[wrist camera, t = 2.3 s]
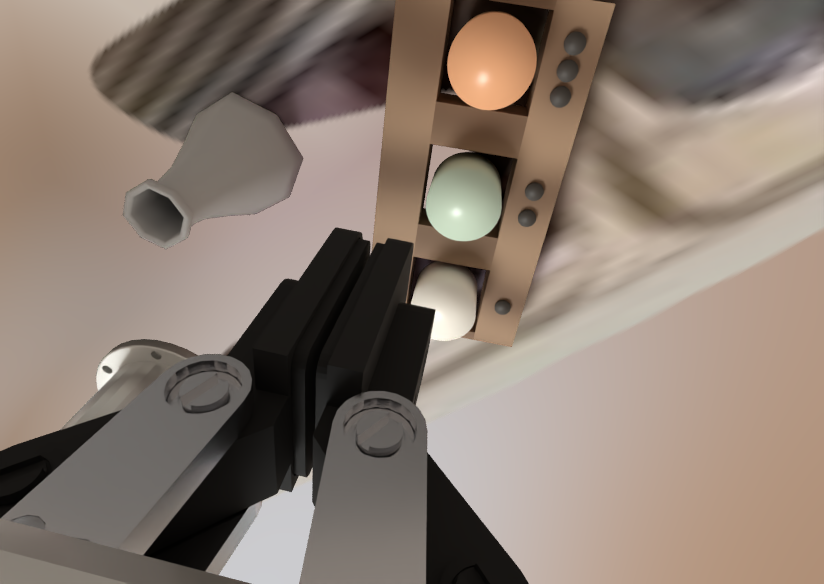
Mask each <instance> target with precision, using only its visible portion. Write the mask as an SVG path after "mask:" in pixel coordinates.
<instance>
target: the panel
mask: <svg viewBox="0 0 824 584" xmlns="http://www.w3.org/2000/svg"><path fill="white" fill-rule="evenodd" d="M491 1H498V2H504V3H511V4H517V5H524V6H530V7H537V8H543V9H549V12H548V16H547V20H546V25H545V29H544V33H543V37H542V41H541V45H540V49H539V54H538V58H537V63H536V70H535V74H534V77H533V79H532V83H531V87H530V91H529V95H528V99H527V103H526V107H524V106H518V105H512V104H511V105H509V106H506V107H504V108H501V109H497V110H481V109H477V108H475V107H472V106H470V105H468V104H467V103H465V102H464V101H463V100H462V99H461V98H460V97H459V96H457V95H451V94H445V93H441V86H442V80H443V73H444V66H445V60H446V53H447V46H448V40H449V33H450V26H451V20H452V13H453V6H454V0H396V2H395V13H394V23H393V34H392V44H391V55H390V66H389V76H388V87H387V97H386V108H385V119H384V129H383V139H382V140H383V141H382V150H381V161H380V171H379V182H378V192H377V203H376V214H375V225H374V234H373V245H372V251H373V249H374V247H375V245H376V243H382V244H385V242H386V240H387V239H388V238H392V239H397V240H402V241H407V242H412V243H414V248H413V256H412V263H411V270H410V277H409V284H408V291H407V298H406V303H407V304H411V301H412V300H411V299H410V293H411V286H412V280H413V273H414V266H415V260H416V257H419V258H424V259H430V260H435V261H441V262H446V263H452V264H457V265H463V266H468V267H474V268H479V269H484V270H486V273H485V278H484V282H483V286H482V290H481V294H480V298H479V302H478V307H477V311H476V317H475V322H474V324H473V326H472V328H471V329H470V330H469V332H468V333H466V334H465V335H464V336H462V338H468V339H473V340H478V341H483V342H489V343H494V344H499V345H504V346H510V347H512V344H513V341H514V338H515V334H516V331H517V328H518V325H519V321H520V318H521V315H522V311H523V308H524V305H525V301H526V298H527V295H528V291H529V288H530V285H531V282H532V278H533V275H534V272H535V268H536V265H537V262H538V258H539V255H540V252H541V248H542V245H543V242H544V239H545V235H546V232H547V229H548V225H549V222H550V219H551V215H552V212H553V209H554V206H555V202H556V199H557V196H558V192H559V189H560V186H561V182H562V179H563V176H564V172H565V169H566V166H567V163H568V159H569V156H570V153H571V149H572V146H573V143H574V139H575V136H576V133H577V129H578V126H579V123H580V120H581V116H582V113H583V110H584V106H585V103H586V100H587V96H588V93H589V90H590V86H591V83H592V80H593V77H594V73H595V70H596V67H597V63H598V60H599V57H600V53H601V50H602V47H603V43H604V40H605V37H606V34H607V30H608V27H609V24H610V20H611V17H612V14H613V10H614V7H615V4H613V3H607V2H600V1H594V0H491ZM433 144H434V145H440V146H446V147H452V148H458V149H464V150H469V151H475V152H481V153H487V154H493V155H499V156H505V157H511V158H513V161H512V166H511V170H510V174H509V178H508V182H507V186H506V190H505V195H504V199H503V203H502V209H501V215H500V218H499V220H498V222H497V224H496V225H495V227H494V228H493V229H492V230H491V231H490V232H489V233H488V234H486V235H485V236H483V237H481V238H479V239H476V240H472V241H456V240H452V239H449V238H447V237H445V236H443V235H442V234H440V233H439V232H438V231H437V230H436V229H435V228H434V227H433V226H432V224H431V223H430V221H429V219H428V216H427V212H426V209H425V208H423V206H424V200H425V193H426V186H427V180H428V172H429V166H430V160H431V153H432V146H433Z"/></svg>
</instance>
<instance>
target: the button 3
mask: <svg viewBox="0 0 824 584" xmlns="http://www.w3.org/2000/svg"><path fill="white" fill-rule="evenodd" d="M536 63H537V55H536V48H535V44H534V41H533V39H532V37H531V35H530V33H529V32H528V30H527V29H526V27H525V26H524V25H523V23H522V22H521V21H520V20H519V19H517V18H516V17H515V16H513V15H511V14H509V13H506V12H503V11H488V12H484V13H481V14H479V15H477V16H475V17H473V18H472V19H471V20H469V21H468V22H467V23H466V24H465V25H464V26H463V28H462V29H461V30H460V31H459V33H458V34H457V36H456V37H455V39H454V41H453V43H452V45H451V48H450V51H449V55H448V62H447V67H448V76H449V79H450V83H451V85H452V87H453V89H454V91H455V92H456V94H457V95H458V96H459V97H460V98H461V99H462V100H463V101H464V102H465V103H467V104H468V105H470V106H472V107H475V108H477V109H481V110H497V109H501V108H504V107H506V106H509V105H511V104H512V103H514V102H515V101H517V100H518V99H519V98H520V97H521V96H522V95H523V94H524V93H525V91H526V90H527V89H528V87H529V85H530V84H531V82H532V79H533V77H534V74H535V70H536Z"/></svg>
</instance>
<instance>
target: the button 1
mask: <svg viewBox="0 0 824 584" xmlns="http://www.w3.org/2000/svg"><path fill="white" fill-rule="evenodd" d="M476 301H477V282H476V279H475V277H474V275H473V273H472V272H471V271H470V270H469V269H468V268H467V267H465V266H463V265H457V264H452V263H446V262H441V261H436V262H433V263H431V264H429V265H428V266H426V267H425V268H424V269H423V270H422V271H421V273H420V274H419V276H418V279H417V283H416V286H415V290H414V294H413V298H412V301H411V304H412V305H417V306H422V307H427V308H431V309H436V311H435V317H434V322H433V328H432V333H431V338H432V339H435V340H441V341H449V340H454V339H458V338H460V337H462V336H464V335H465V334H466V333H468V332H469V330H470V329H471V328H472V326H473V324H474V322H475V317H476Z"/></svg>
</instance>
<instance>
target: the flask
mask: <svg viewBox="0 0 824 584" xmlns="http://www.w3.org/2000/svg"><path fill="white" fill-rule="evenodd" d="M302 160H303V157H302V155H301V153H300V152H299V150H298V149H297V147H296V145H295V144H294V142H293V140H292V139H291V137H290V135H289V134H288V132H287V131H286V129H285V127H284V126H283V124H282V122H281V121H280V119H279V117H278V116H277V115H276V114H274V113H272V112H270V111H268V110H266V109H264V108H262V107H260V106H258V105H256V104H255V103H253V102H251V101H249V100H247V99H245V98H243V97H241V96H239V95H237V94H235V93H233V92H231V93H230V94H228V95H227V96H225V97H223V98H222V99H220V100H219V101H217V102H215V103H214V104H212V105H211V106H209V107H208V108H206V109H204V110H203V111H201V112H200V113H198V114H197V115H196V117H195V119H194V121H193V123H192V125H191V128H190V130H189V132H188V135H187V137H186V139H185V142H184V144H183V146H182V148H181V149H180V151H179V153H178V155H177V157H176V159H175V161H174V163H173V165H172V167H171V168H170V169H169V170H168V171H167V172H166V173H165V174H164V175H163V176H162V177H161V178H160V179H159V180H158V181H154V180H153V179H148V180H146V181H145V182H143V183H141V184H139V185H138V186H136V187H134V188H133V189H131V190H130V191H128V192H127V193H126V196H125V204H124V211H123V216H124V217H125V219H126V220H127V221H128V222H129V224H130V225H131V226H132V227H133V229H134V230H135V231H136V232H137V233H138V235H139V236H140V237H141V238H143V239H145V240H147V241H149V242H151V243H154V244H156V245H158V246H160V247H162V248H164V249H168V248H170V247H172V246H174V245H176V244H177V243H179V242H181V241H183V240H185V239H186V238H188V236H189V233H190V229H191V226H192V225H194V224H195V223H197V222H199V221H202V220H204V219H209V218H217V217H224V216H235V215H250V214H257V213H259V212H261V211H263V210H265V209H267V208H269V207H271V206H273V205H275V204H277V203H279V202H280V201H283V200H285V199H286V198H289V197H290V195H291V192H292V189H293V186H294V183H295V181H296V177H297V175H298V172H299V169H300V166H301V163H302Z"/></svg>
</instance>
